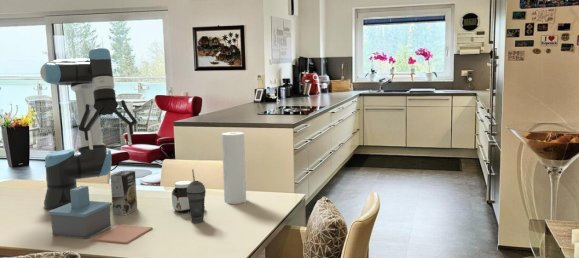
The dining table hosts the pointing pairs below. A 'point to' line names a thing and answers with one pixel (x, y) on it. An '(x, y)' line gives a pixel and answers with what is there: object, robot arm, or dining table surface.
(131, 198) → the coffee box
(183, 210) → the spread jar
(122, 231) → the rubber mat
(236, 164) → the paper towel roll
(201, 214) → the beverage cup
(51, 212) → the lid
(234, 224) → the dining table surface
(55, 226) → the storage box
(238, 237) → the dining table surface
